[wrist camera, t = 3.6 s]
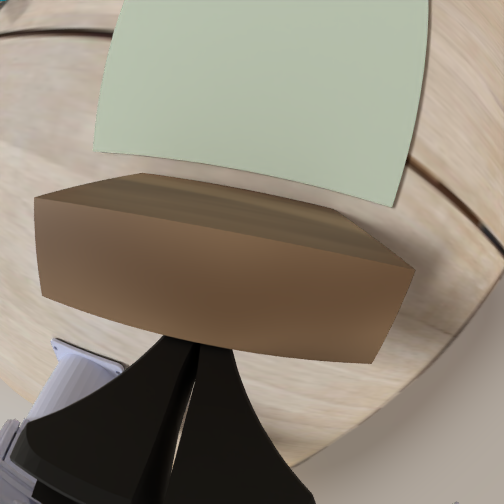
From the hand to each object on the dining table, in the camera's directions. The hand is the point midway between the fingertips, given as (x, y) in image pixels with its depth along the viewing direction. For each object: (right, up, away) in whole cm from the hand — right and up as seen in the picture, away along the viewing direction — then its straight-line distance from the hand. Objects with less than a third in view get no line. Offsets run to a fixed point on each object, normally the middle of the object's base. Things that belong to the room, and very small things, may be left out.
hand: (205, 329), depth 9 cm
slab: (+1, +4, +4) cm, 6 cm away
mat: (+3, +14, 0) cm, 14 cm away
